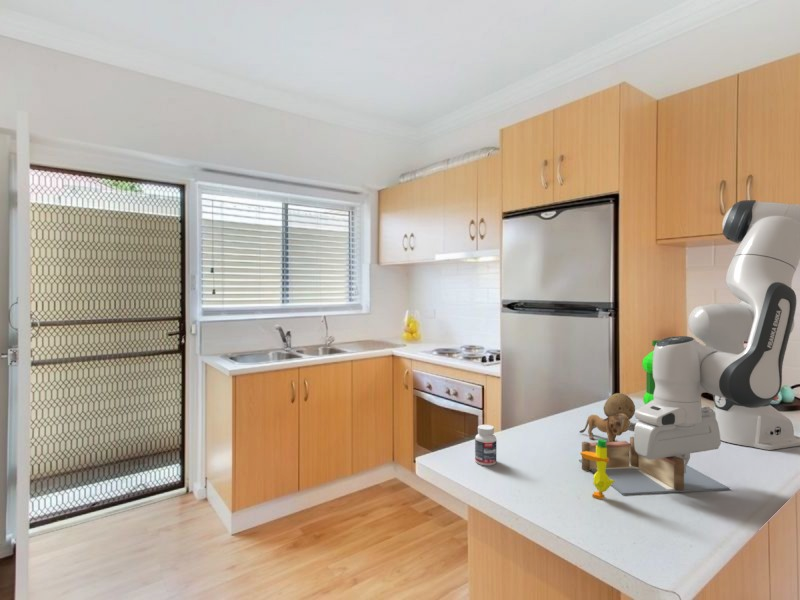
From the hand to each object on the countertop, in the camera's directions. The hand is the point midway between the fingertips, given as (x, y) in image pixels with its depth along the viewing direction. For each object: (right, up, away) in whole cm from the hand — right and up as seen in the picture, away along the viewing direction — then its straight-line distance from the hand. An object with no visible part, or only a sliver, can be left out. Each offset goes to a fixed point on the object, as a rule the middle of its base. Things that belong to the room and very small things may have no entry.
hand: (679, 473), depth 94 cm
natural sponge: (+9, -2, +42) cm, 43 cm away
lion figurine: (-3, -2, +28) cm, 28 cm away
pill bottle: (-40, -3, +13) cm, 42 cm away
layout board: (-4, -2, +5) cm, 7 cm away
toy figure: (-20, -3, -5) cm, 21 cm away
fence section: (-11, -2, +9) cm, 14 cm away
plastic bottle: (+31, -2, +57) cm, 65 cm away
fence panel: (-3, -2, +1) cm, 4 cm away
